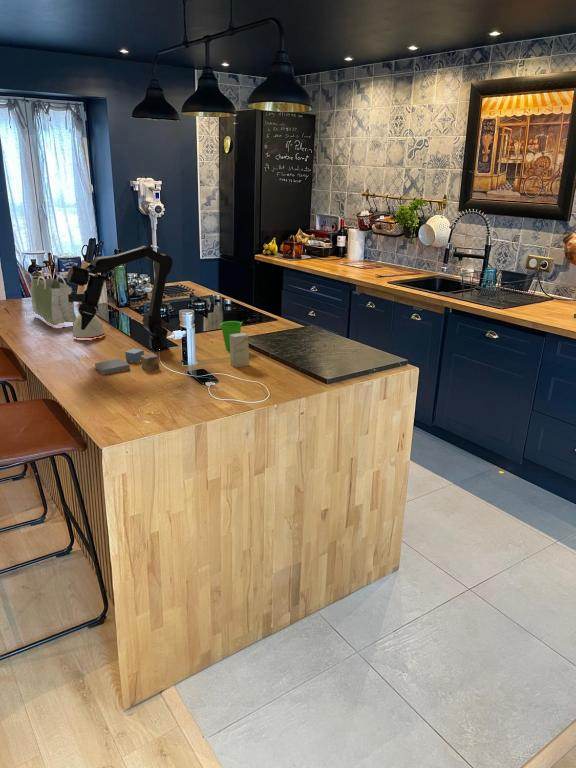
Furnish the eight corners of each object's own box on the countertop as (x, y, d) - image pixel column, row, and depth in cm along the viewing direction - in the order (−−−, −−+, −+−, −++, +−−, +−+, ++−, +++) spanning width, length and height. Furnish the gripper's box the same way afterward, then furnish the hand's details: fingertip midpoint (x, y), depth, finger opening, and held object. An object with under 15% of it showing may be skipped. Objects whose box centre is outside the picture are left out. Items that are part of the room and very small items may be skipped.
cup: (247, 347, 245) (245, 322, 241) (236, 353, 238) (235, 327, 234) (228, 345, 249) (227, 320, 245) (217, 351, 241) (215, 325, 237)
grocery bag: (82, 324, 287) (75, 277, 279) (54, 329, 279) (46, 281, 271) (60, 313, 310) (53, 269, 302) (33, 317, 302) (25, 273, 294)
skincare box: (234, 368, 220) (233, 337, 216) (230, 364, 224) (228, 334, 220) (249, 365, 223) (248, 334, 219) (245, 362, 227) (243, 332, 222)
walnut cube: (154, 365, 225) (152, 353, 224) (159, 368, 221) (158, 356, 220) (141, 367, 223) (140, 355, 221) (146, 371, 219) (145, 358, 217)
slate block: (135, 358, 235) (134, 348, 233) (144, 359, 232) (143, 350, 231) (126, 361, 231) (125, 351, 229) (135, 363, 228) (134, 353, 227)
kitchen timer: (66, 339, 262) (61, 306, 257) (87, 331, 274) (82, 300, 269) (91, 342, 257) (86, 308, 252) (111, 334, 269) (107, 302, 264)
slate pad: (120, 363, 228) (120, 358, 228) (129, 369, 221) (129, 364, 220) (95, 368, 223) (94, 363, 222) (103, 375, 215) (103, 369, 215)
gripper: (74, 282, 231) (64, 319, 233) (70, 284, 213) (59, 325, 215) (103, 290, 234) (93, 327, 236) (100, 293, 216) (89, 333, 218)
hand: (83, 328), depth 226 cm, fingers open, 9 cm apart
